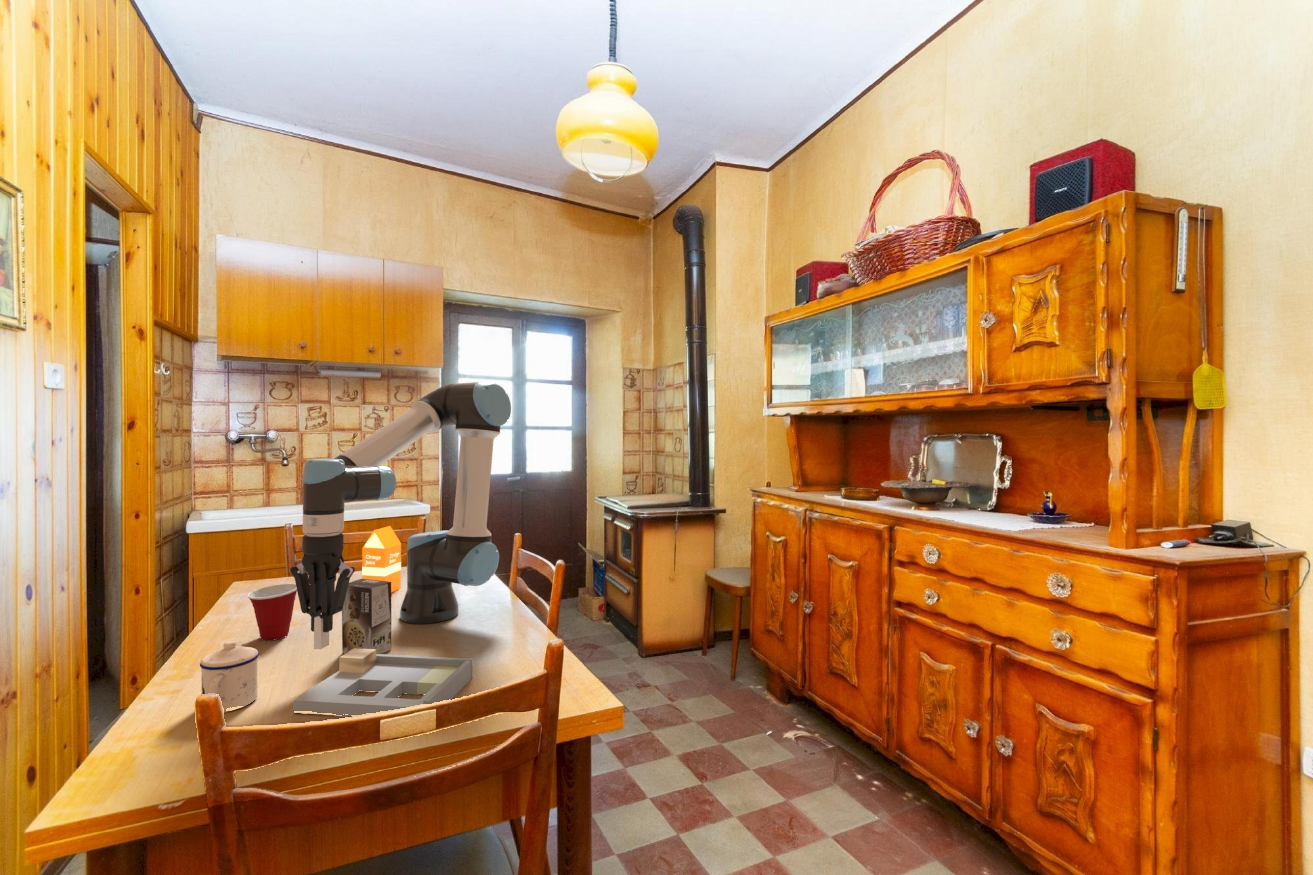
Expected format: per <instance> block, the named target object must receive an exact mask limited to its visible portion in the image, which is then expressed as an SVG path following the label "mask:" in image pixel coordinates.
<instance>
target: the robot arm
mask: <svg viewBox="0 0 1313 875" xmlns="http://www.w3.org/2000/svg"><path fill="white" fill-rule="evenodd" d="M511 413H512V404H511V399H510V397H509V394H508V393H506V390H505V389H504V388H503V387H502V386H501V385H499V384H497V383H495V382H487V381H478V382H477V381H476V382H474V381H473V382H453V383H449V384H448V383H447V384H446V385H445V384H444V385H443V386H441V387H439V388H436V389H434V390H432V391H431V392H429V393H428V394H426V395H424V396H422V397H421V398H419V399H418V400H416V401H415V402H413V403H412V405H411V407H410V409H409V410H407V411H406V412H404V413H403V414H402V415H400V416H398V417H396V418H395V419H393V421H391V422H389V423H387V424H386V425H384V426H383V427H381V428H380V429H378V430H377V431H375V432H373V433H371V434H370V435H369V436H366V438H364V439H362V440H361V441H359V442H358V443H356V444H355V445H353V446H351V447H350V448H347V450H345V451H343V452H342V453H341V454H339V455H338V456H336V457H334V458H310V459H308V460H306V461H305V463H304V464H303V465H304V466H303V473H302V480H301V481H302V532H303V534H304V535H303V536H302V537H301V540H302V541H301V552H302V554H303V556H302V559H301V562H300V563H298V564H297V565H294V566H292V567H290V569H289V571H290V574H291V575H292V576H293V578H294V581H295V582H294V584H296V587H297V592H296V593H297V596H298V600H299V606H300V609H301V610H300V611H301V613H302V614H308V615H309V616H310V630H311V632H312V633H313V650H320V651H321V650H322V649H324V648H327V646H329V645H330V632H331V631H332V630H333V626H334V621H333V620H334V619H333V617H334V615H336V614H338V613H340V612H342V609H343V605H344V601H345V597H346V593H347V589H348V585H349V583H350V582H351V581H350V580H351V578H352V576H353V574H354V573H355V572H356V568H355V567H354V566H351V567H350V566H349V565H347V564H346V563H345V559H344V557H343V551H344V534H343V533H342V532H343V531H344V530H345V504H347V503H354V502H365V501H379V500H384V499H388V498H390V497H392V495H393V494H394V493H395V491H396V487H397V478H396V474H395V472H394V470H393V469H392V468H390V467H388V466H386V465H385V466H383V464H385V463H386V462H388V461H389V460H391V459H392V458H394V457H395V456H397V455H398V454H400V453H401V452H402V451H404V450H405V449H406V448H408V447H409V446H411V445H412V444H414V443H415V442H417V441H419V439H421V438H422V437H424V436H425V435H426V434H428V433H436V432H438V431H439V430H441V429H442V428H445V427H449V426H455V429H454V430H455V432H456V433H457V434H458V435H459V437H460V439H459V440H460V441H459V455H458V464H457V474H456V475H457V478H456V488H455V498H454V500H455V501H454V512H453V523H452V525H453V526H452V527H451V528H450V529H449V530H436V531H433V530H432V531H427V532H422V533H420V532H419V533H417V534H412V535H411V536H410V537H409V538H408V539H407V546H406V547H407V549H406V575H407V576H406V586H407V588H406V592H405V595H404V598H403V600H402V604H401V607H400V611H399V618H400V620H401V621H403V622H405V623H407V624H415V625H416V624H418V625H419V624H434V623H439V622H444V621H448V620H450V619H452V618H455V617H456V616H458V614H459V603H458V602H459V601H458V600H457V597H456V593H455V591H454V588H453V584H458V585H462V586H465V587H469V586H470V587H478V586H482V585H484V584H485V583H488V582H489V581H490V580H491V578H492V577H493V576H494V575H495V573H496V571H497V569H498V567H499V566H498V565H499V561H500V552H499V550H498V547H497V546H496V545H495V543H493V542H492V532H491V531H490V530H489V529H488V528H487V527H488V526H487V525H488V524H487V523H488V513H489V500H490V490H491V489H490V485H491V477H492V476H491V473H492V463H493V462H492V461H493V452H494V451H493V450H494V440H495V439H496V438H497V437H498V436H499V435H500V434H501V426H504V425H505V424H506V423H507V422H508V420H509V419H510V417H511ZM337 573H338V574H337ZM337 575H338V578H337ZM335 583H336V584H335Z"/></svg>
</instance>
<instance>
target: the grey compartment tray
mask: <svg viewBox="0 0 1313 875" xmlns="http://www.w3.org/2000/svg"><path fill="white" fill-rule="evenodd" d="M473 663H474V662H473V658H460V657H446V656H445V657H441V656H424V655H423V656H422V655H421V656H420V655H406V654H405V655H403V654H401V655H400V654H385V653H382V654H376V664H375V665H374V666H372V667H371V668H369V669H368V670H366V671H365V672H364V673H350V672H339V670H337V671H336V672H335V673H333V674H331V675H330V676H328V677H327V678H325V679H324V680H322V681H320V682H318V684H316V685H314V686H313V687H311V688H309V689H308V690H307V691H305V692H303V693H302V694H301V695H299V696H298V697H296V698H295V699H293V703H292V704H293V712H294V711H312V712H317V713H332V714H336V715H342V716H338V717H341V718H342V717H343V718H349V717H348V716H351V715H362V714H366V713H376V712H380V711H388V710H394V709H400V708H406V707H410V706H415V705H420V704H432V703H434V702H440V701H443V700H449V699H452V700H453V699H454V698H455V697H456V696H457V694H458V693H460V692H461V690H462V689H463V688H465V686H466V685H467V684H468V683H469V682H470V681H471V680H473V669H474V668H473ZM359 690H362V691H380V692H378V693H375V695H374V696H366V695H365V696H364V695H360V696H359V695H356V694H355V693H357V692H358V691H359ZM358 693H359V692H358ZM358 693H357V694H358ZM402 693H407V694H406V695H410V694H425V695H422V696H421V698H419V699H417V698H416V699H415V698H414V699H413V698H400V697H401V696H402V695H403V694H402ZM354 694H355V695H354ZM401 694H402V695H401ZM352 695H354V696H352ZM400 695H401V696H400ZM398 696H400V697H399V698H397V697H398ZM343 714H344V715H343ZM345 714H348V715H345Z"/></svg>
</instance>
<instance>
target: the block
mask: <svg viewBox="0 0 1313 875" xmlns="http://www.w3.org/2000/svg"><path fill="white" fill-rule="evenodd" d="M338 660H339V661H338V662H339V664H338V666H339V668H338V671H339V672H350V673H364V672H365V671H366V670H368V669H369V668H371V667H372V666H374V665H375V664H376V649H358V648H354V649H352V650H350V651H349V652H347V653H346V654H342V655H341V656H339V658H338Z"/></svg>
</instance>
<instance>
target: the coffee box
mask: <svg viewBox="0 0 1313 875" xmlns="http://www.w3.org/2000/svg"><path fill="white" fill-rule="evenodd" d="M391 583H392V582H390V581H380V580H371V579H362V578H360V579H357V580H353V581H349V585H348V589H347V593H346V597H345V601H344V605H343V609H342V611H341V645H342V646H341V648H342V649H341V650H342V652H341V654H342V653H344V654H346V653H347V652H349V651H350V650H352V649H354V648H358V649H376V654H385V653H386V652H390V651H391V650H392V592H391ZM344 654H343V655H344Z"/></svg>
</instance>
